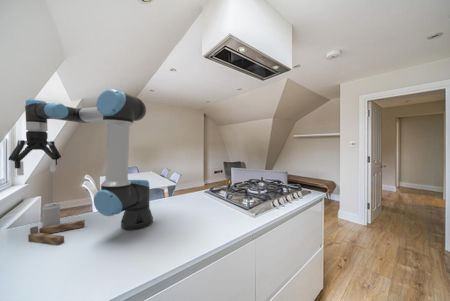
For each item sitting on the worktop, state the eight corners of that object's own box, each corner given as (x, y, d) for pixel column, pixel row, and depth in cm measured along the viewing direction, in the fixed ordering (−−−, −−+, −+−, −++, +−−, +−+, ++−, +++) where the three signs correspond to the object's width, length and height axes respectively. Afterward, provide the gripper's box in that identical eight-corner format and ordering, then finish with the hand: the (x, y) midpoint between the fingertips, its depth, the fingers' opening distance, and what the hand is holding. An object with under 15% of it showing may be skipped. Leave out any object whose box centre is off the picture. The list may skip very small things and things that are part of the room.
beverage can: (49, 232, 85) (48, 206, 85) (38, 230, 86) (38, 205, 86) (63, 226, 91) (63, 202, 91) (53, 225, 93) (53, 201, 92)
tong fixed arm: (69, 240, 78) (69, 230, 78) (58, 245, 74) (58, 234, 73) (35, 235, 81) (35, 226, 81) (23, 240, 77) (23, 230, 77)
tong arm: (84, 225, 92) (84, 219, 92) (84, 226, 90) (84, 221, 90) (40, 233, 83) (40, 227, 83) (39, 235, 81) (39, 229, 81)
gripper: (58, 133, 104) (58, 170, 104) (-4, 128, 79) (-3, 177, 80) (68, 133, 102) (69, 170, 103) (8, 128, 78) (9, 177, 78)
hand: (37, 173), depth 91 cm, fingers open, 13 cm apart
